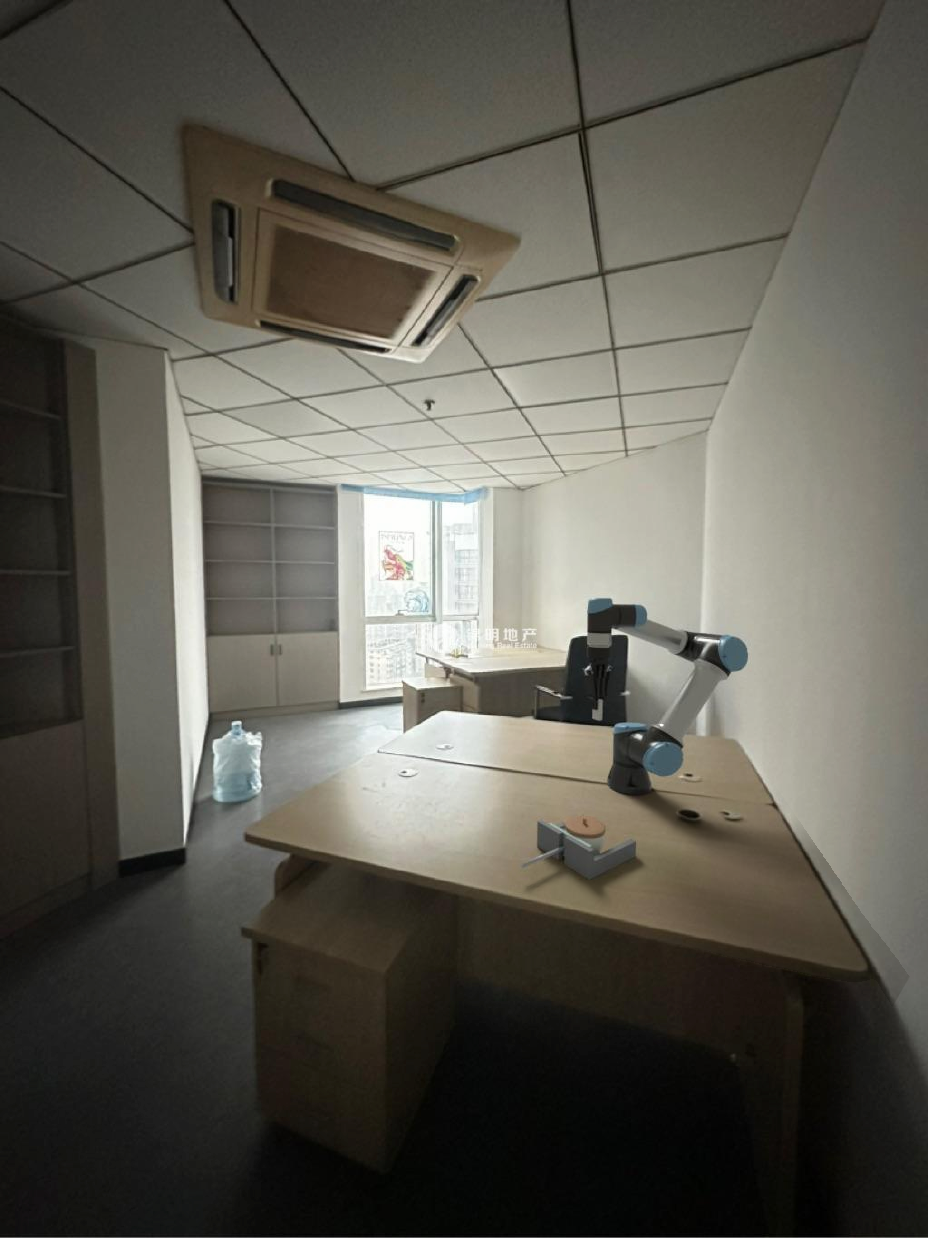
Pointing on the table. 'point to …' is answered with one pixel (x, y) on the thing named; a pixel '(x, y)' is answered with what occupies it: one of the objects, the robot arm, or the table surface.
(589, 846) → the pusher
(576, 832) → the lidded jar
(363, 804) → the table surface
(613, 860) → the grey fixture frame
